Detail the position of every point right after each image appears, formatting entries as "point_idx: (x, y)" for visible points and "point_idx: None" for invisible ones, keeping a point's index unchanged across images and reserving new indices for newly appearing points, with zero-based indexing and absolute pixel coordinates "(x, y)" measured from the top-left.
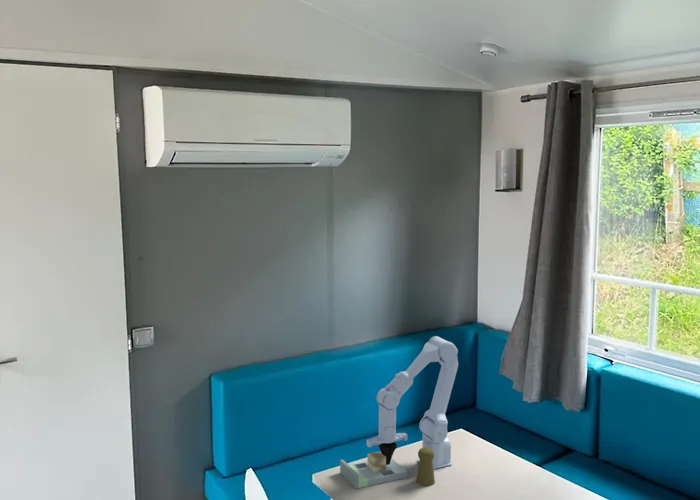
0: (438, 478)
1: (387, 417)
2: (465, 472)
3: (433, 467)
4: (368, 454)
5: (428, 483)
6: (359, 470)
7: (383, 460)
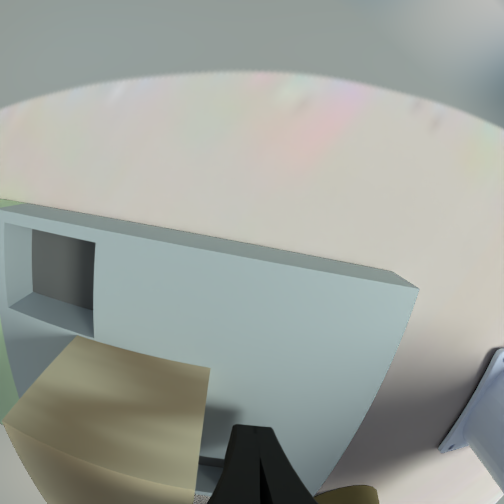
0: (393, 496)
1: None
2: (475, 470)
3: (459, 446)
4: (11, 438)
5: None
6: (10, 334)
7: None
